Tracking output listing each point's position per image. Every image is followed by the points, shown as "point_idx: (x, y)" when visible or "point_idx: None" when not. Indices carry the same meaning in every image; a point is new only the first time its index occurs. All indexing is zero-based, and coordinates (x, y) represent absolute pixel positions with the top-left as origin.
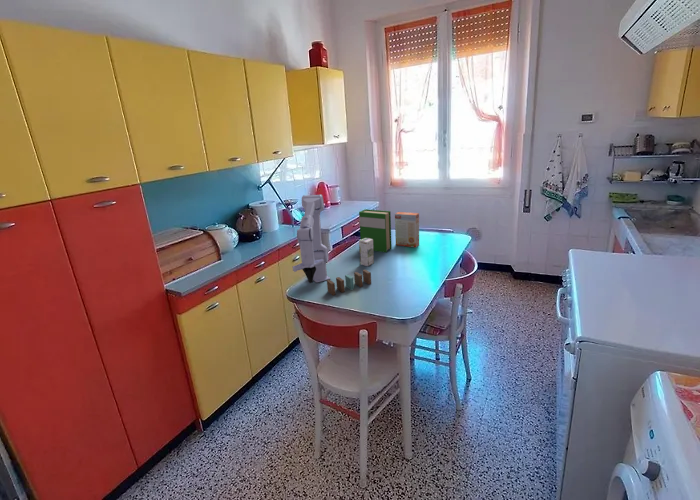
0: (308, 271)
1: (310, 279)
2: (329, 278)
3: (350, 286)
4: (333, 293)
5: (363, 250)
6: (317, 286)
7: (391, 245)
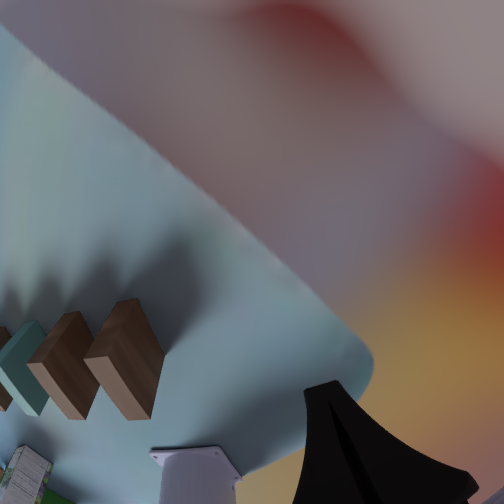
0: (443, 497)
1: (346, 410)
2: (152, 452)
3: (27, 334)
4: (125, 306)
5: (22, 495)
6: (219, 421)
7: (3, 473)
